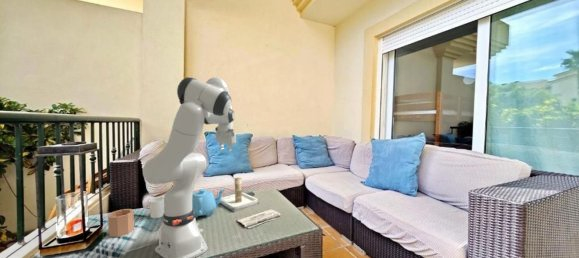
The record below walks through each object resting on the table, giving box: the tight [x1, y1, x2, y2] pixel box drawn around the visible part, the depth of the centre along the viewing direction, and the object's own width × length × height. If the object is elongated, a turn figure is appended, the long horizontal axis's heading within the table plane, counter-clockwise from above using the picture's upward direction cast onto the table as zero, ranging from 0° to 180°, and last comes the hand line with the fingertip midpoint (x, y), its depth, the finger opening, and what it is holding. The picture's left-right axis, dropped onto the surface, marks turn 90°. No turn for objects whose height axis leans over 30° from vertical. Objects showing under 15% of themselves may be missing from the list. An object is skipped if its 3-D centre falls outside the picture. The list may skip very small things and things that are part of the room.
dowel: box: [234, 177, 243, 203], centre depth 144 cm, size 4×4×15 cm
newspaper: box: [236, 209, 282, 229], centre depth 122 cm, size 23×12×2 cm, turn 129°
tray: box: [219, 191, 260, 212], centre depth 144 cm, size 20×18×2 cm
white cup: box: [148, 196, 164, 219], centre depth 123 cm, size 8×8×10 cm
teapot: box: [192, 188, 226, 219], centre depth 128 cm, size 16×20×14 cm
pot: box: [107, 208, 135, 238], centre depth 106 cm, size 9×9×10 cm
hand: (226, 150), depth 143 cm, fingers open, 8 cm apart
